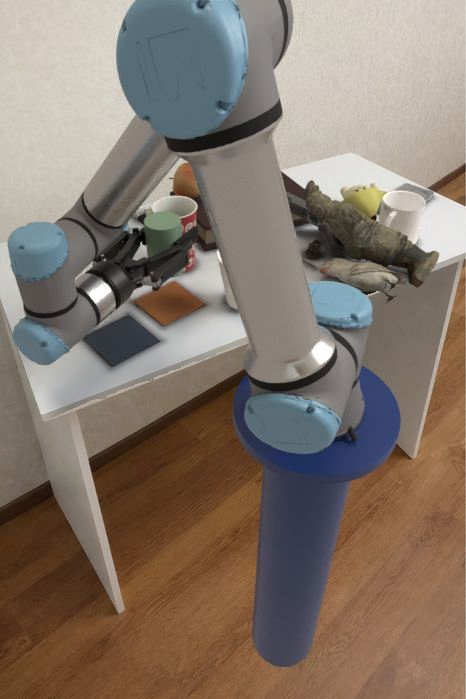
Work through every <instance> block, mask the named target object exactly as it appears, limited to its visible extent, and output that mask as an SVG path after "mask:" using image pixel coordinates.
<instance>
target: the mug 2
mask: <svg viewBox="0 0 466 699" xmlns="http://www.w3.org/2000/svg"><path fill="white" fill-rule="evenodd" d="M387 192H388V193H386V194H385V195H384V196H383V199H382V205H381V210H380V213H379V216H378V222H379V223H380V224H383V225H385V226H386V227H389V228H391V229H394V230H396V231H400V232H401V234H404V235H407V236H408V240H410V241H412V243H413V244H414V245H416V243H417V241H418V238H419V234H420V230H421V226H422V222H423V217H424V215H425V214H424V213H425V209H426V205H427V202H426V201H425V199H424V198H423V197H422V196H420V195H418V194H416V193H413V192H409V191H395V190H392V191H387Z"/></svg>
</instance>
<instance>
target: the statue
mask: <svg viewBox="0 0 466 699" xmlns="http://www.w3.org/2000/svg"><path fill="white" fill-rule="evenodd" d="M304 189H305V190H304V193H305V197H306V204H305V206H306V207H307V208H308V210H309V211H310V212H311V213H313V215H315V216H316V217H317V218H319V219H322V220H325V221H326V222H327V223H328V225H329V227H330V229H331V231H333V233H334V234H335V237H336V238H337V239H339V240H340V241H341V242H342V244H343V246H345V248H346V253H347V255H348V256H347V257H348V258H350V259H352V260H356V261H357V262H361V261H363V260H364V262H370V263H375V264H379V265H381V266H383V267H385V268H387V269H388V268H389V267H390V266H392V267H394V268H398V269H404V270H406V271H407V274H406V275H407V276H408V278H409V280H408V284H409V285H411V286H413V287H416V288H420V287H421V286H422V285H423V284H424V283H425V281H426V280H427V279H428V277H429V276H430V274H431V273H432V271H433V270H434V268H435V266H436V265H437V263H438V261H439V258H440V252H439V251H437V250H432V251H429V252H427V251H426V250H425V251H424V250H423V249H421V247H419V246H417V245H416V244H413V243H412V241H410V240H408V236H407V235H404V234H401V232H400V231H396V230H394V229H391V228H389V227H386V226H385V225H383V224H380V223H379V222H378V221H377V220H372V219H369V218H368V217H367V216H366V215H364V214H363V213H361V212H360V211H359V210H358V208H357V207H356V206H353V205H352V204H350V203H348V202H341V201H339V200H337V199H334V200H332V197H330V196H329V195H327V194H325V193H323V192H322V190H320V186H319V185H318V184H316V183H315V181H314V180H312V179H311V180H309V181H307V183H306V185H305V188H304Z"/></svg>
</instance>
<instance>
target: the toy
mask: <svg viewBox="0 0 466 699" xmlns="http://www.w3.org/2000/svg"><path fill="white" fill-rule="evenodd" d="M369 185H370V186H369ZM369 185H366V184H356V185H353V186H352V187H349V186H348V185H347V186H343V187H341V188H340V190H339V193H340V195H341V197H342V199H343V200H341V201H340V202H348V203H350V204H352V205H353V206H356V207H357V208H358V210H359V211H360V212H361V213H363V214H364V215H366V216H367V217H368V218H369V219H372V220H376V221H377V219H378V216H377V213H378V212H377V211H378V207H379V204H380V203H381V202H382V199H383V196H384V195H385V194H386V193H388V192H389V191H385V190H382V189H381V190H380V189H379V187H378V185H377V183H375V182H371V183H370V184H369Z"/></svg>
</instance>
